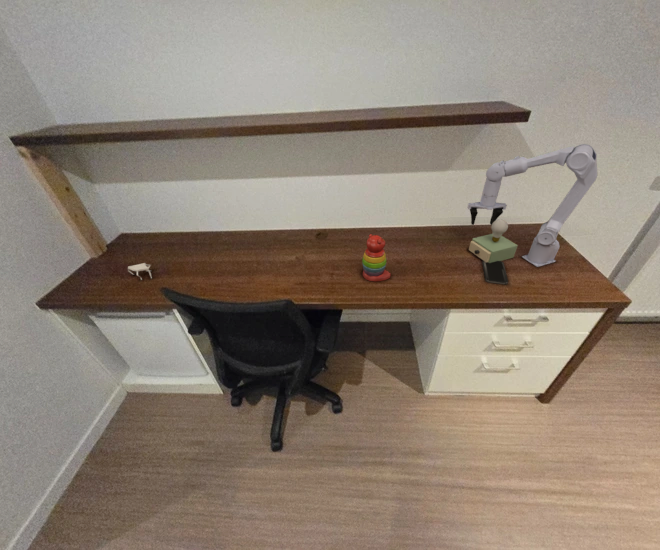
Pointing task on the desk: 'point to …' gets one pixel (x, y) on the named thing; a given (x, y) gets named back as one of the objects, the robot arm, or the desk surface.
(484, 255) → the drawer
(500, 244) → the cabinet
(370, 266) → the stacking bear
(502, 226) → the light bulb
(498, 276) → the phone
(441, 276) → the desk surface
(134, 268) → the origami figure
